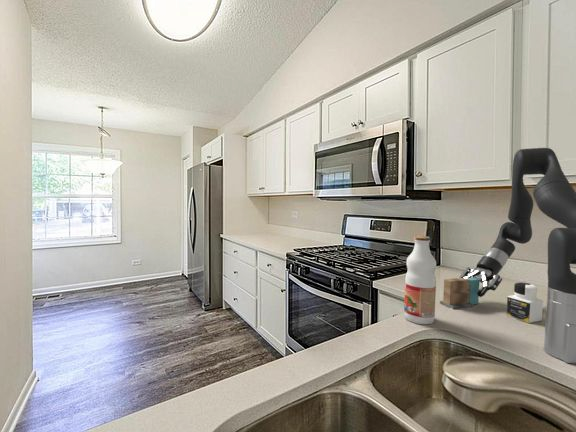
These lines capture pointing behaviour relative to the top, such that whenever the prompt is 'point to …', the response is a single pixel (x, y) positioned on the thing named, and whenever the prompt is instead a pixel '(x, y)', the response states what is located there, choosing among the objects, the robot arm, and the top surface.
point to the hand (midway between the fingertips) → (469, 292)
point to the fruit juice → (420, 283)
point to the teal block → (474, 290)
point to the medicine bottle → (525, 303)
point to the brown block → (456, 293)
